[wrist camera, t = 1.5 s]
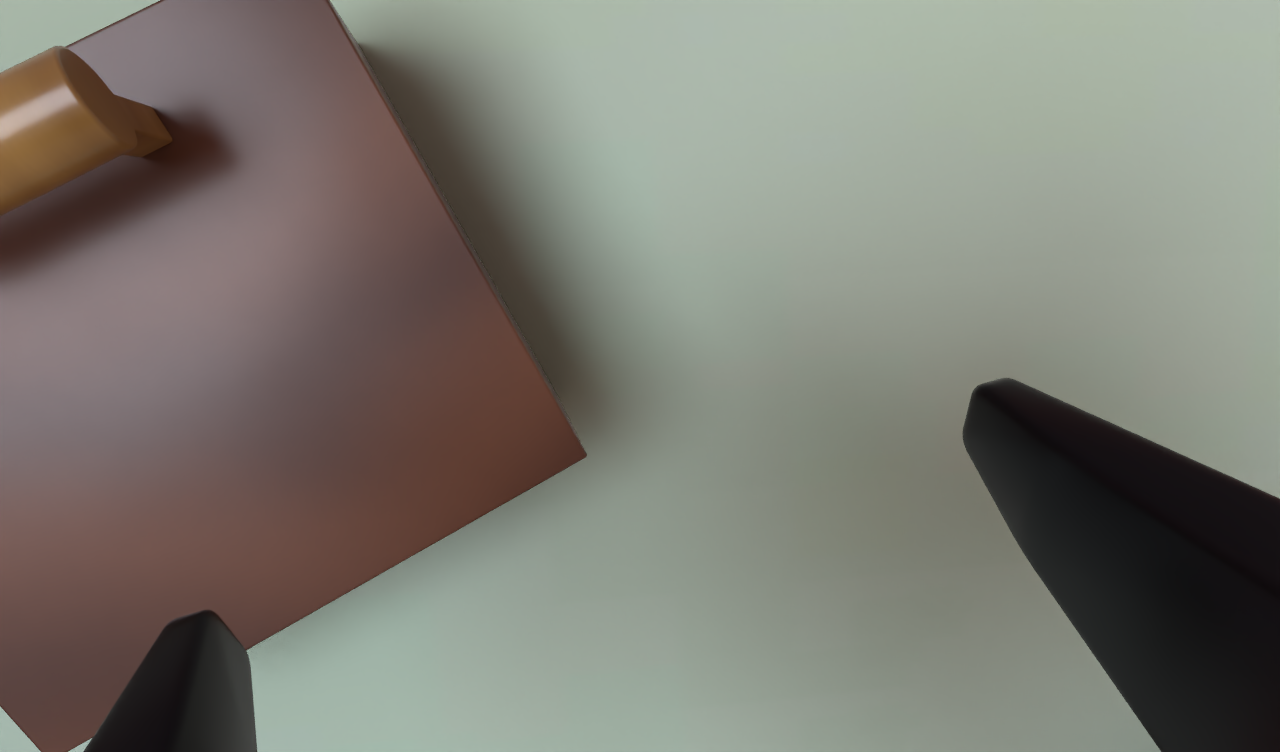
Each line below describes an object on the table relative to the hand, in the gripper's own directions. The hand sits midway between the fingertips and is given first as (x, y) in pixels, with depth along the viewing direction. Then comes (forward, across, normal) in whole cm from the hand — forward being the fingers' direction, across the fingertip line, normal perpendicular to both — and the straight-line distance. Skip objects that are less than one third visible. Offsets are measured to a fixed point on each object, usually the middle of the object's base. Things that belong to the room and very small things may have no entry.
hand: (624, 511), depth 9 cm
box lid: (+9, +7, +2) cm, 12 cm away
